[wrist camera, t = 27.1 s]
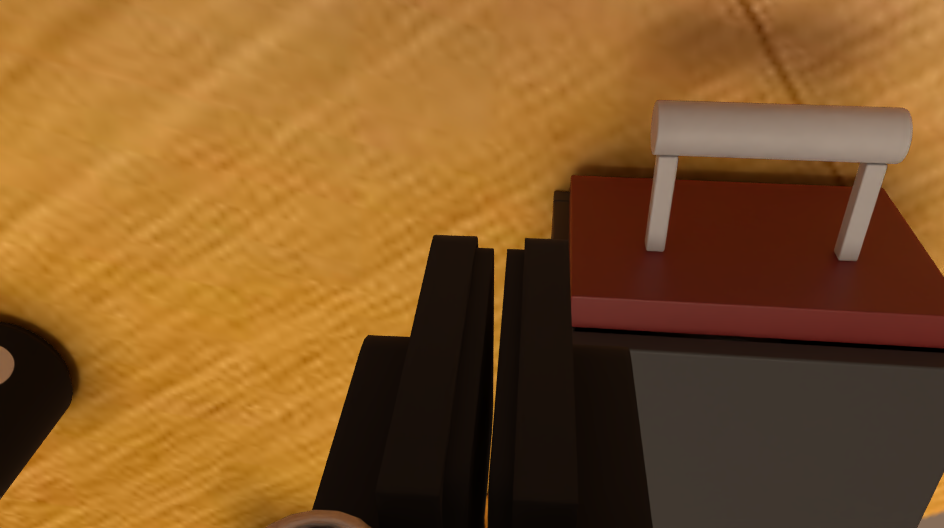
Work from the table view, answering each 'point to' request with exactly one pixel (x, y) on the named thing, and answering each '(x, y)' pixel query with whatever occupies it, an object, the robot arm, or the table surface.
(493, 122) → the table surface
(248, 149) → the table surface
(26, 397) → the beverage can
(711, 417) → the dark grey box
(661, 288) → the drawer
